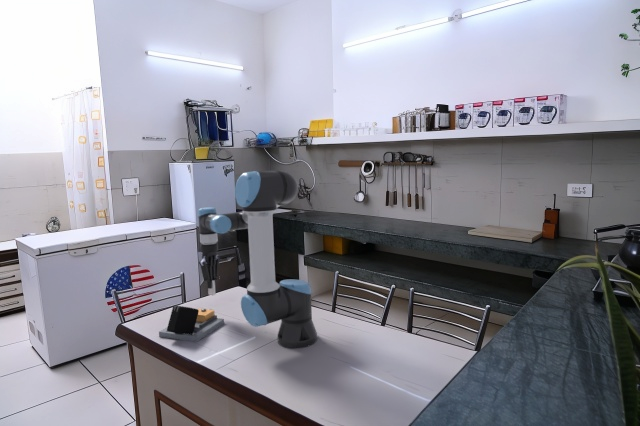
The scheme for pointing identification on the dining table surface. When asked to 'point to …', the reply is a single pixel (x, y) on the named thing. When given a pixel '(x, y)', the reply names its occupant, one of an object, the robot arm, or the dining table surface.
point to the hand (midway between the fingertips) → (212, 294)
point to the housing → (195, 330)
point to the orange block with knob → (204, 315)
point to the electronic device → (182, 320)
